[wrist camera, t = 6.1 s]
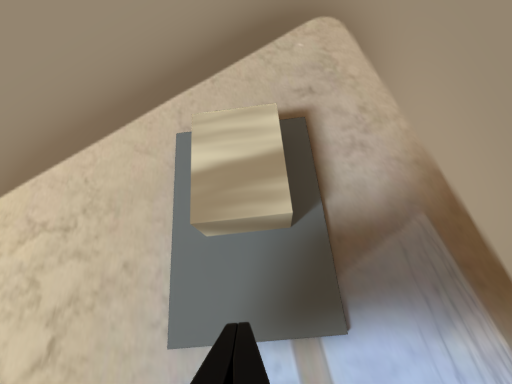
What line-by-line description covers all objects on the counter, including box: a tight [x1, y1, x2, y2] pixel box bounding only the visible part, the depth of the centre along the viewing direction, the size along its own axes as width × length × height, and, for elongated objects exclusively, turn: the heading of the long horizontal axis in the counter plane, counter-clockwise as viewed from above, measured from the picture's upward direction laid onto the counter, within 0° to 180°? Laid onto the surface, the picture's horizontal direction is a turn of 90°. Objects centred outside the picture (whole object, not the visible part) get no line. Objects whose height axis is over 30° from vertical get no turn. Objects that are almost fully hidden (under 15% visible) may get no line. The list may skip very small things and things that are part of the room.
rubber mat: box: [167, 117, 348, 349], centre depth 18 cm, size 16×11×1 cm
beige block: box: [190, 103, 293, 236], centre depth 18 cm, size 4×6×8 cm
